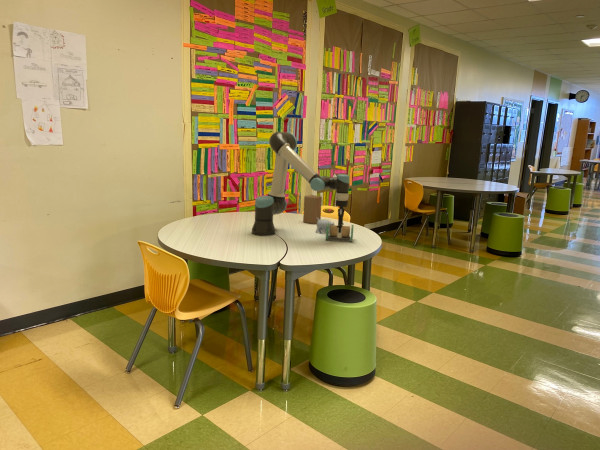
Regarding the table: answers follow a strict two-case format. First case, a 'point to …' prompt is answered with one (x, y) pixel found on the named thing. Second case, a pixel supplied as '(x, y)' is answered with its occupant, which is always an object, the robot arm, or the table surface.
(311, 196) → the wooden block
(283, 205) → the robot arm
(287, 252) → the table surface
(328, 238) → the holder
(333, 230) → the cylinder
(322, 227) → the hippopotamus toy
